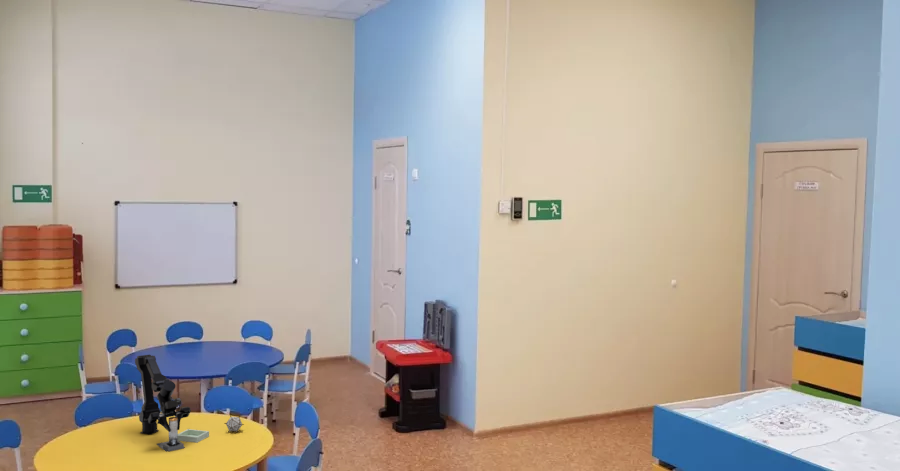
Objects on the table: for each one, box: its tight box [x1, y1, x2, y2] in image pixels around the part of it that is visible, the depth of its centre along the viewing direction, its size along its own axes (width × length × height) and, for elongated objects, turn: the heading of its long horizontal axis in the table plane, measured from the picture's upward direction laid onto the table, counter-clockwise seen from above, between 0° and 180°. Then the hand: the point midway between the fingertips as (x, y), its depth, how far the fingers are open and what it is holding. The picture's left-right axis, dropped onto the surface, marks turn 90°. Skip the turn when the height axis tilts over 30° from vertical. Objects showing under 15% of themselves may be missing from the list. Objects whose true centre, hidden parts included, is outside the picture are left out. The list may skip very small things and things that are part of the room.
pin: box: [168, 416, 179, 445], centre depth 358 cm, size 4×4×12 cm
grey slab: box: [155, 440, 186, 452], centre depth 362 cm, size 15×9×3 cm, turn 40°
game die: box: [224, 415, 245, 433], centre depth 387 cm, size 9×8×10 cm
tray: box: [178, 428, 210, 443], centre depth 373 cm, size 12×10×4 cm
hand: (174, 430), depth 357 cm, fingers closed on pin, 4 cm apart
